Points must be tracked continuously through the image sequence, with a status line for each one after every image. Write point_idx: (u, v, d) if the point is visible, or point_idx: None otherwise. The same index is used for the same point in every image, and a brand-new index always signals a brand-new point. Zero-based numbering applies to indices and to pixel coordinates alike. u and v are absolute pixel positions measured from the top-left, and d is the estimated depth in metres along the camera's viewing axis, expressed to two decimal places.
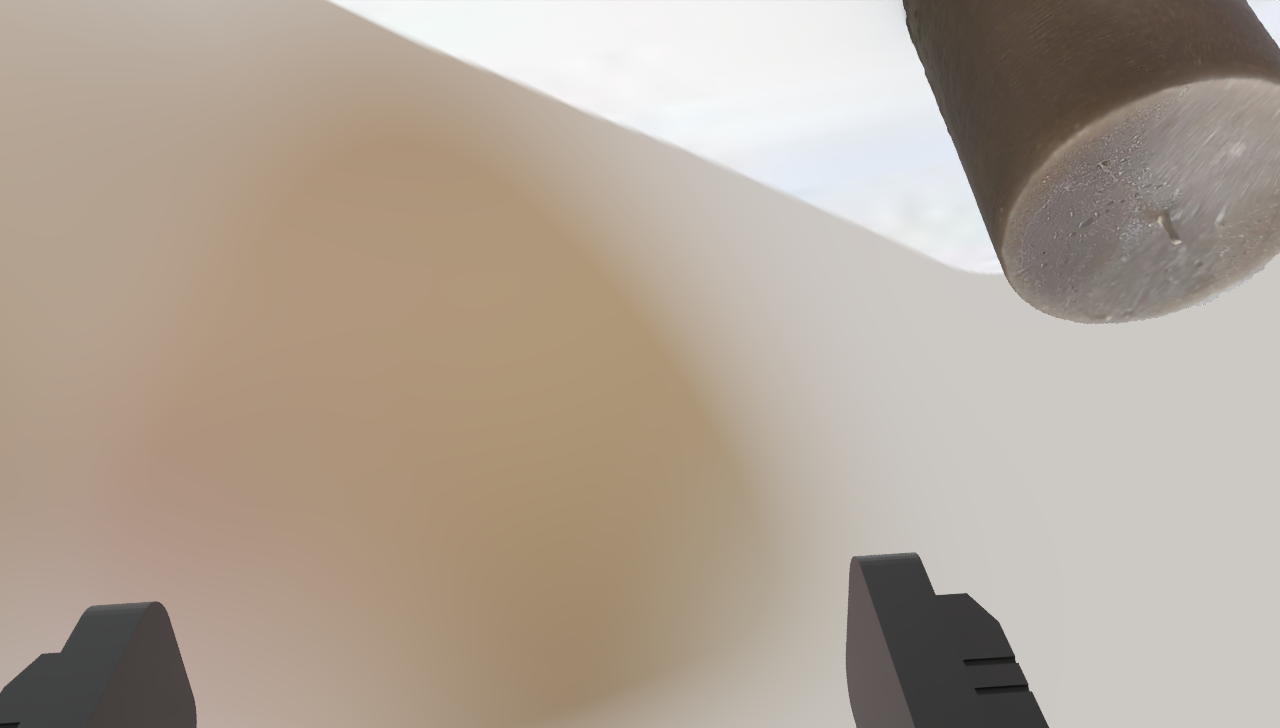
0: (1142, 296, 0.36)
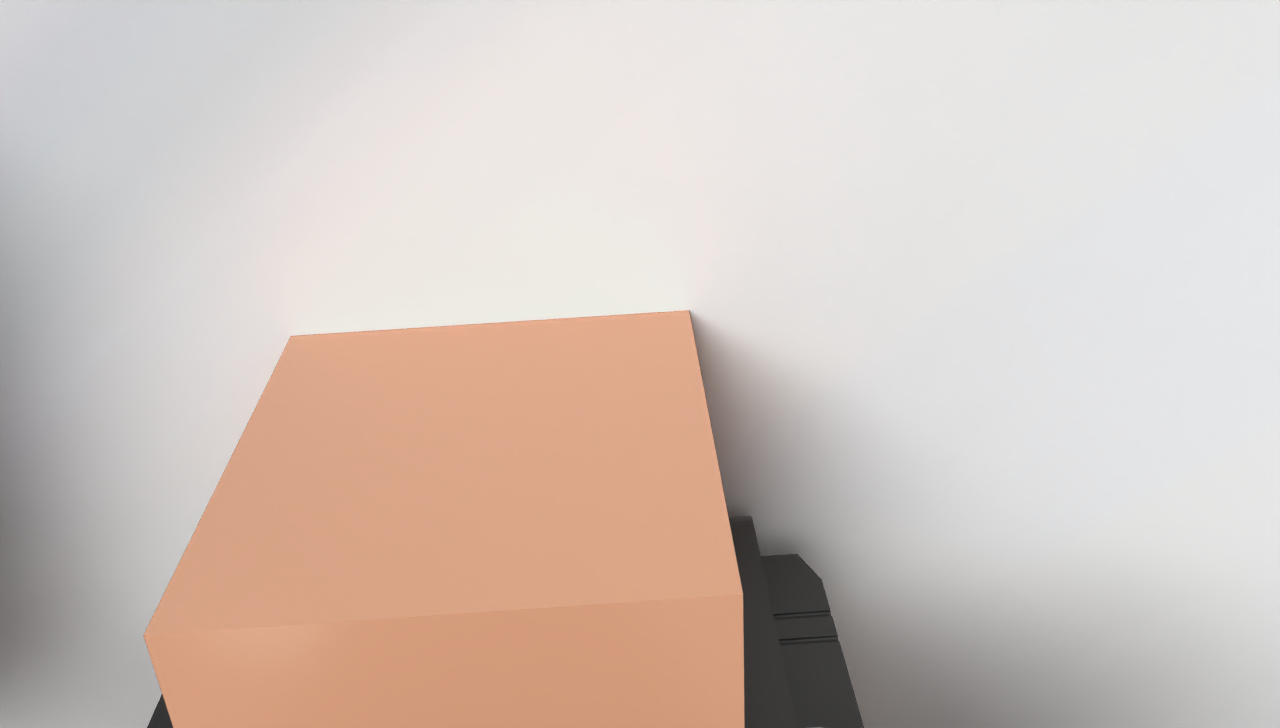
0: None
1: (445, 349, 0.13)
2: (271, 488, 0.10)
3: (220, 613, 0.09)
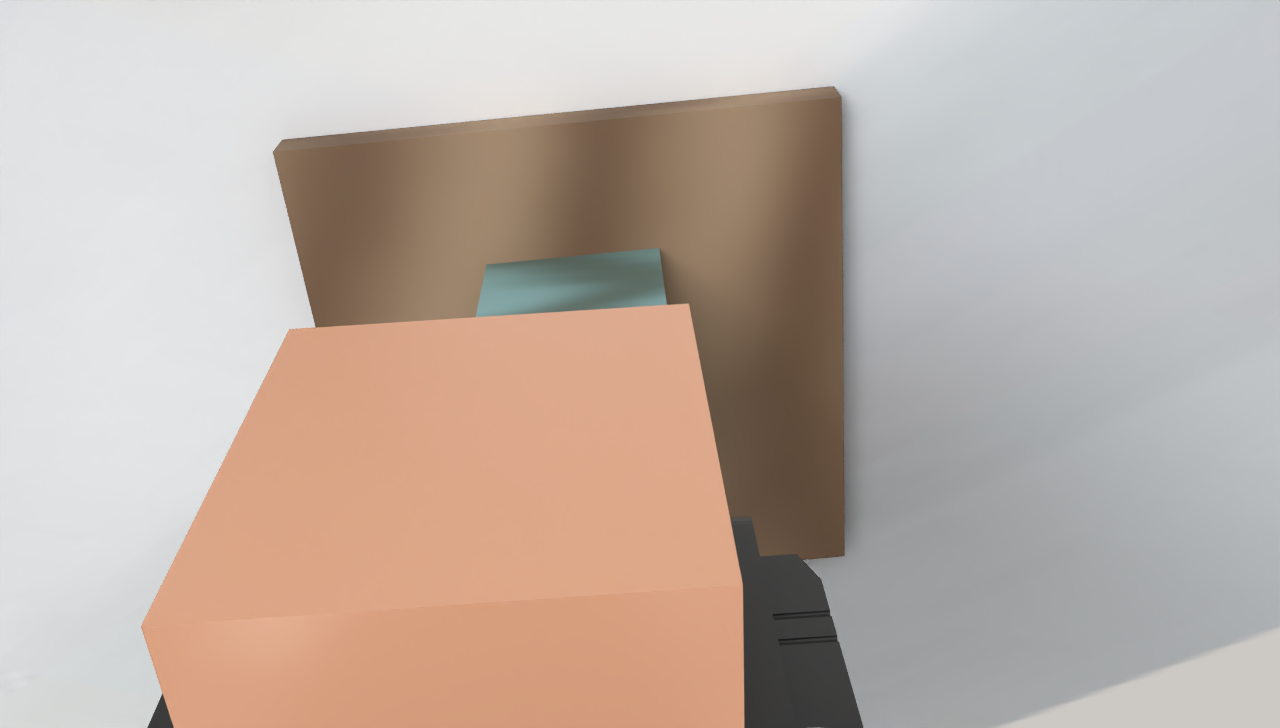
0: None
1: (444, 342, 0.13)
2: (270, 480, 0.10)
3: (218, 604, 0.09)
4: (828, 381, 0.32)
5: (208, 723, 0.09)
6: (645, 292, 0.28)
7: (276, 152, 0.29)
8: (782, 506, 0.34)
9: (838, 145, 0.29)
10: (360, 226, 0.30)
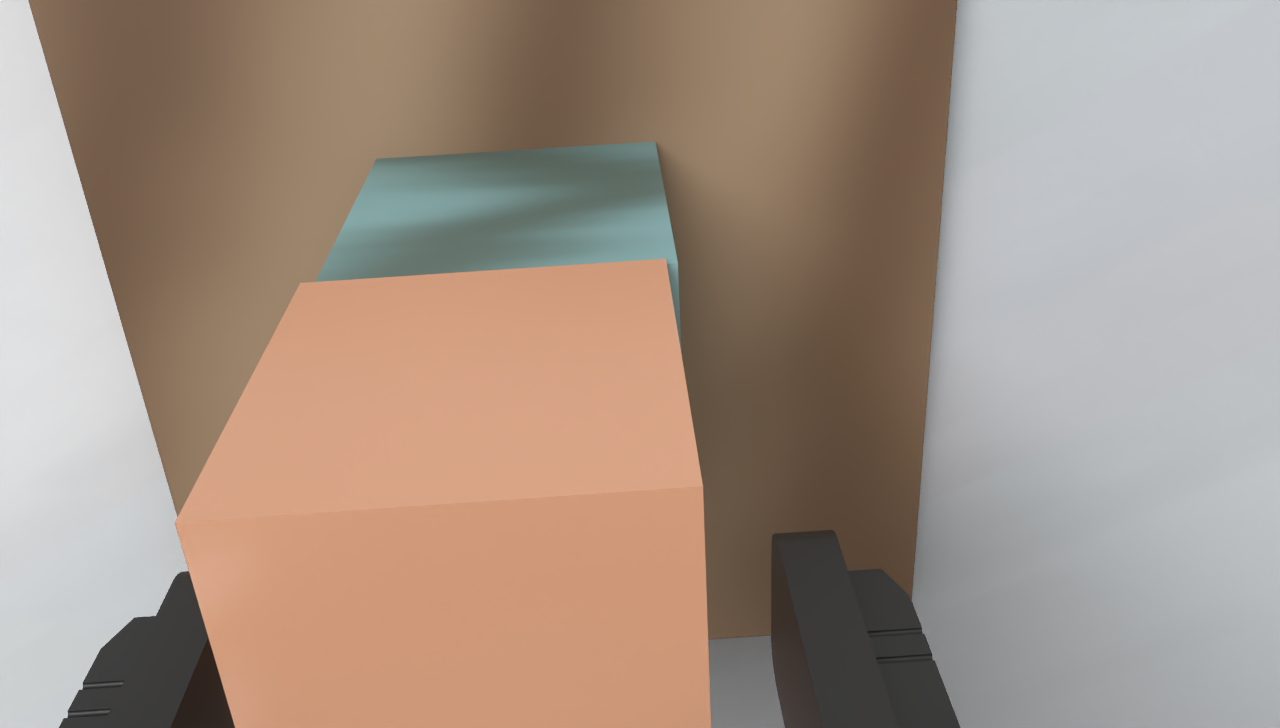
0: None
1: (442, 292, 0.14)
2: (285, 407, 0.12)
3: (242, 505, 0.10)
4: (907, 365, 0.21)
5: (233, 613, 0.10)
6: (632, 200, 0.16)
7: None
8: None
9: None
10: (167, 85, 0.18)
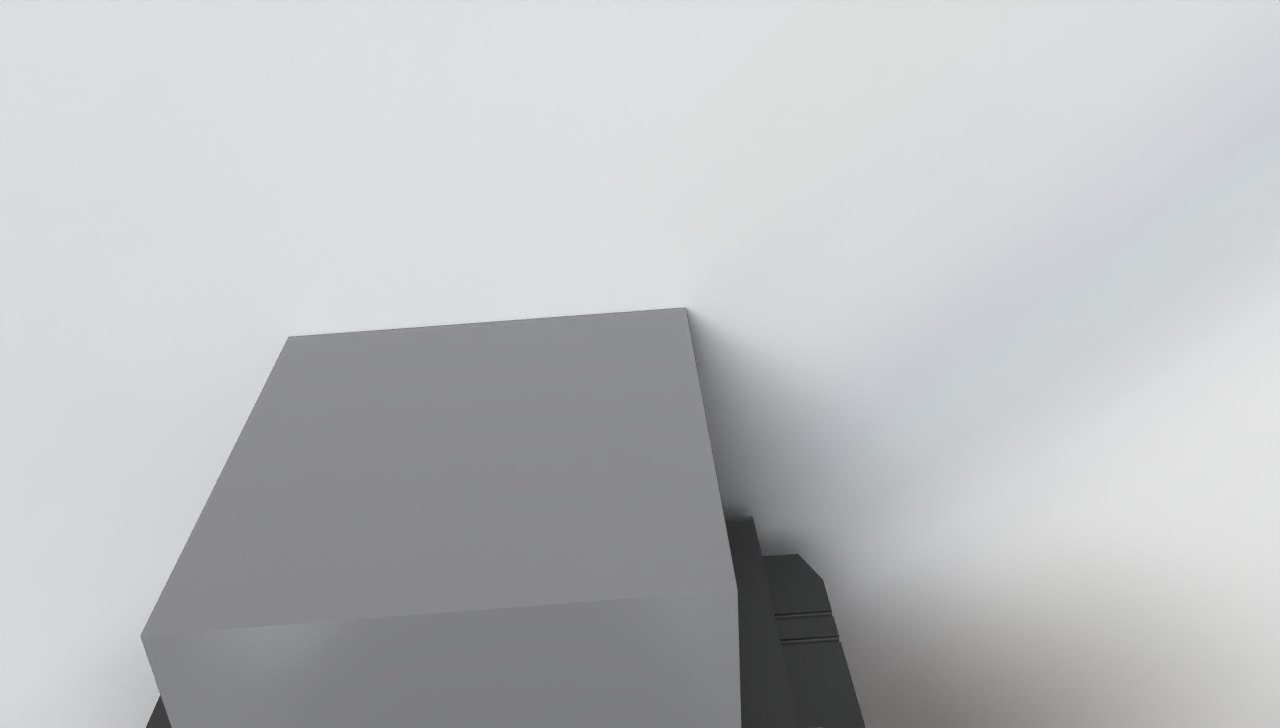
0: None
1: None
2: None
3: None
4: None
5: None
6: None
7: None
8: None
9: None
10: None
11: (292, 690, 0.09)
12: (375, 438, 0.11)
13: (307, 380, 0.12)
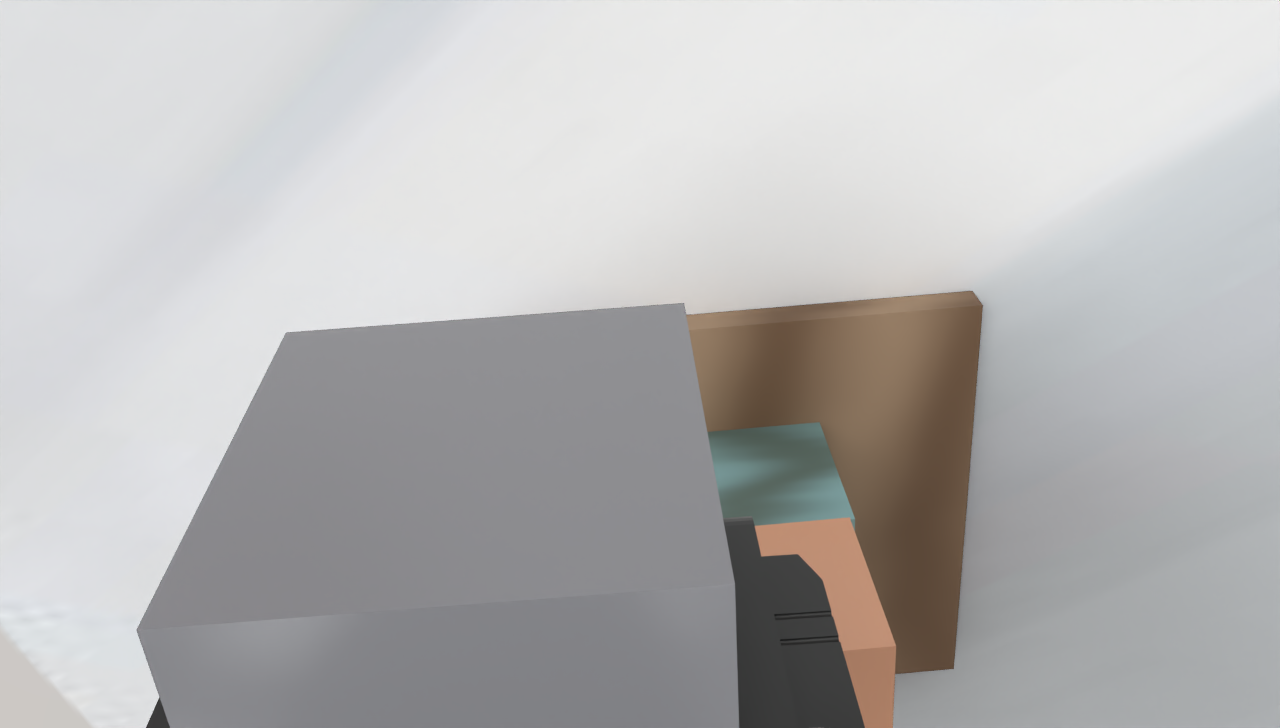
0: None
1: None
2: None
3: None
4: (952, 528, 0.38)
5: None
6: (820, 472, 0.33)
7: None
8: (904, 628, 0.39)
9: (977, 342, 0.34)
10: None
11: (289, 684, 0.09)
12: (372, 433, 0.11)
13: (304, 375, 0.12)
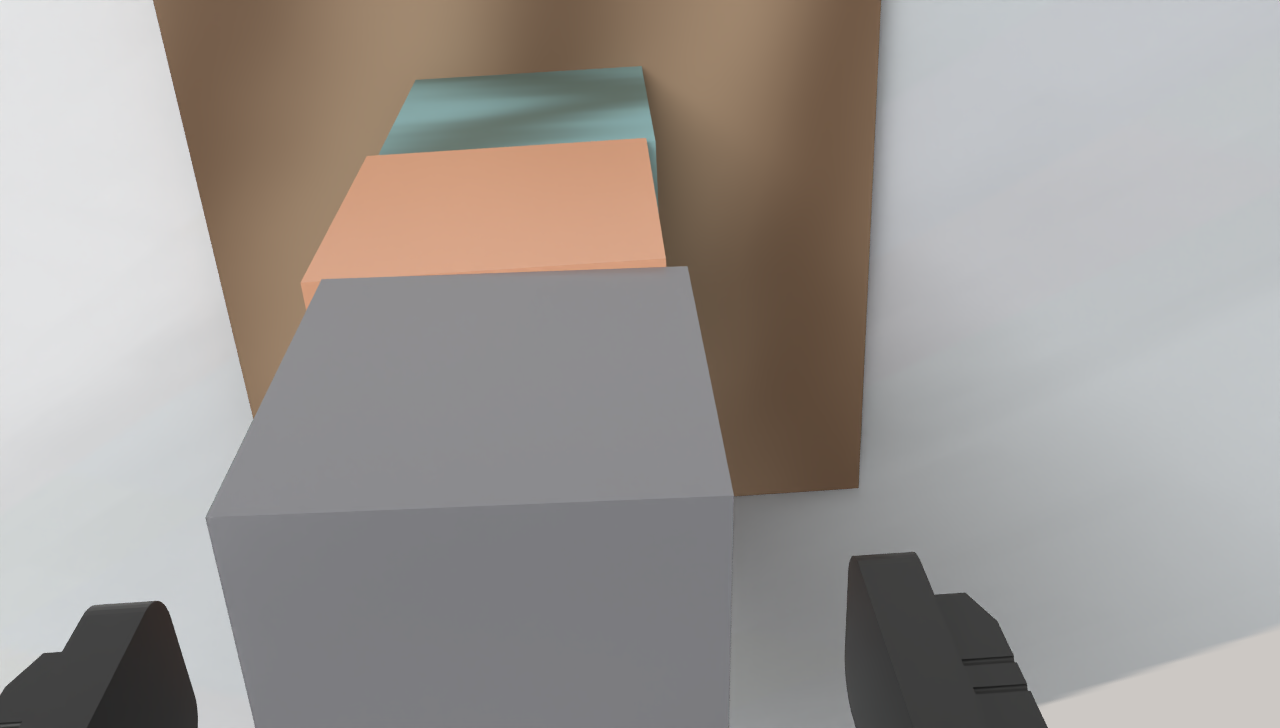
0: None
1: (476, 160, 0.18)
2: (367, 224, 0.16)
3: (346, 273, 0.14)
4: (850, 257, 0.25)
5: None
6: (621, 104, 0.21)
7: None
8: (784, 421, 0.27)
9: None
10: (248, 18, 0.22)
11: (335, 572, 0.10)
12: (406, 365, 0.12)
13: (340, 315, 0.13)
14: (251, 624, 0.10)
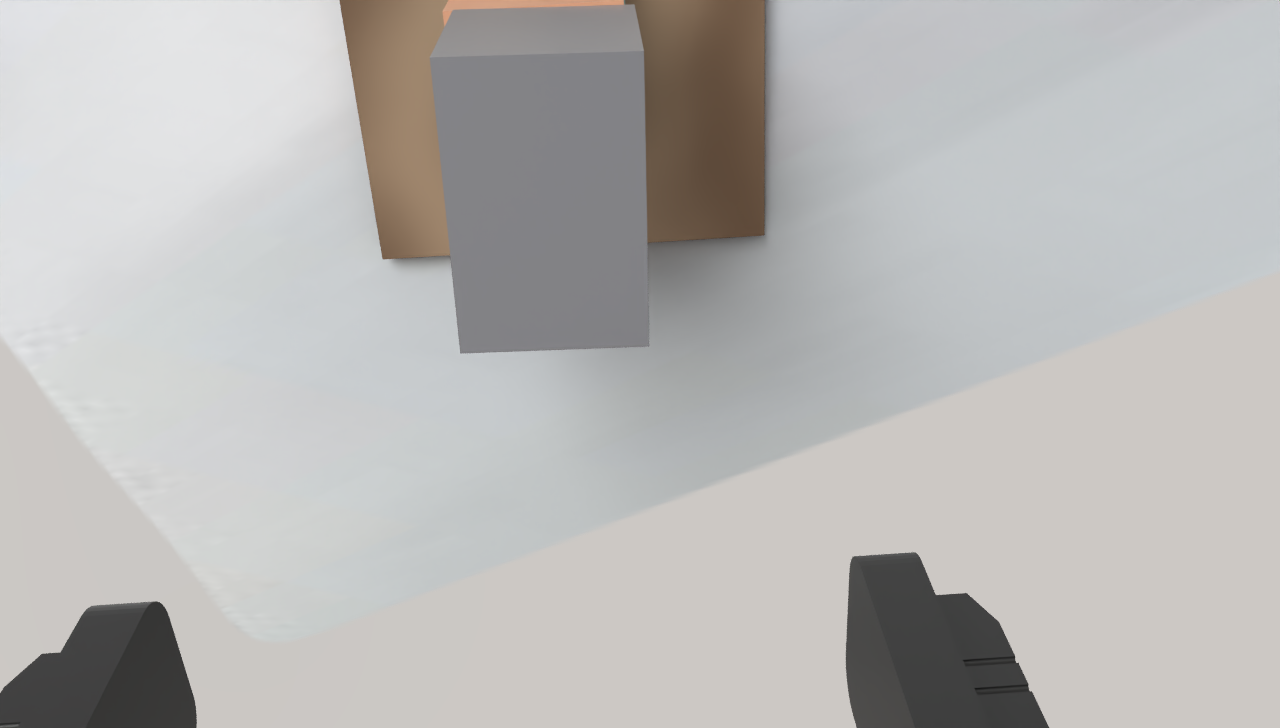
0: None
1: None
2: None
3: (464, 8, 0.29)
4: (752, 70, 0.40)
5: None
6: None
7: None
8: (714, 185, 0.42)
9: None
10: None
11: (480, 86, 0.25)
12: (501, 28, 0.27)
13: (466, 17, 0.28)
14: (443, 112, 0.25)
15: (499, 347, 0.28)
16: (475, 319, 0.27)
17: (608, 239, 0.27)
